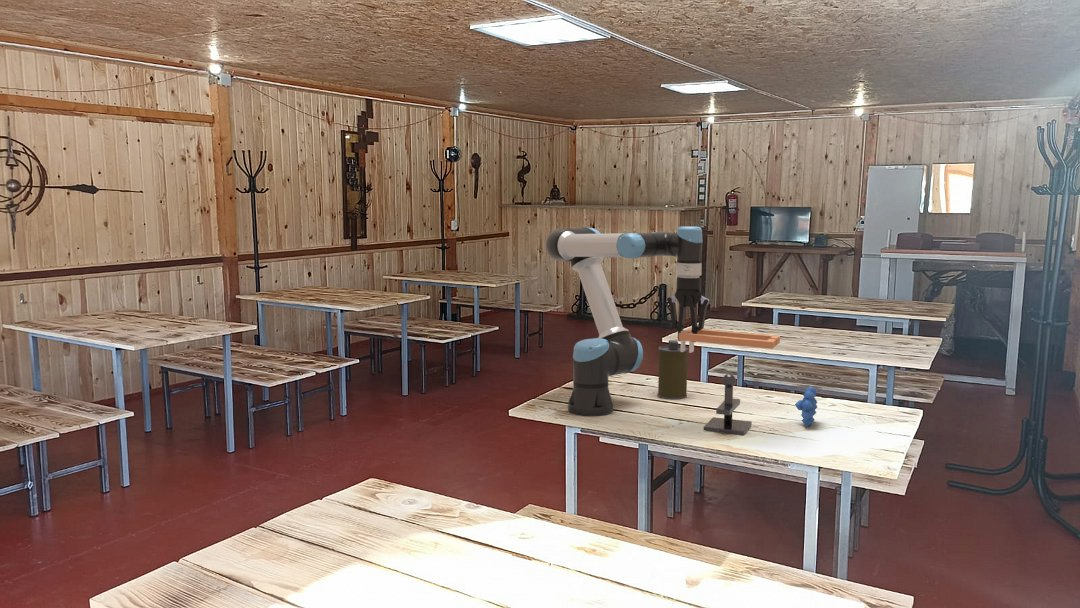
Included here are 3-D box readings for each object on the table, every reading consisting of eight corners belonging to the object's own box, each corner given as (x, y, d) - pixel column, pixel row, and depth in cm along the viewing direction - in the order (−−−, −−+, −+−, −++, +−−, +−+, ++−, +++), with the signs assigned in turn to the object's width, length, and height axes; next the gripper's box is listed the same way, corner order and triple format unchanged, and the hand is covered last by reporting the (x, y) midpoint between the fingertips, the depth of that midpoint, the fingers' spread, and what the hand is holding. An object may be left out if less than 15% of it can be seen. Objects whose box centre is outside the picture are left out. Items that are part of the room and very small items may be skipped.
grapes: (797, 418, 252) (799, 381, 251) (819, 421, 249) (821, 383, 247) (790, 427, 242) (792, 389, 240) (813, 430, 239) (815, 391, 237)
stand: (702, 431, 238) (703, 377, 236) (714, 419, 251) (715, 367, 249) (742, 436, 233) (744, 380, 231) (752, 423, 246) (754, 371, 244)
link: (678, 339, 241) (678, 333, 241) (689, 334, 252) (689, 328, 252) (772, 348, 229) (772, 342, 229) (779, 342, 240) (780, 335, 239)
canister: (689, 399, 278) (690, 343, 275) (659, 399, 278) (660, 343, 275) (684, 392, 288) (685, 338, 286) (655, 392, 288) (656, 338, 286)
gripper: (661, 276, 244) (660, 351, 247) (709, 278, 237) (707, 355, 240) (669, 274, 251) (667, 347, 253) (716, 276, 244) (714, 351, 247)
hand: (687, 351), depth 247 cm, fingers closed on link, 2 cm apart
